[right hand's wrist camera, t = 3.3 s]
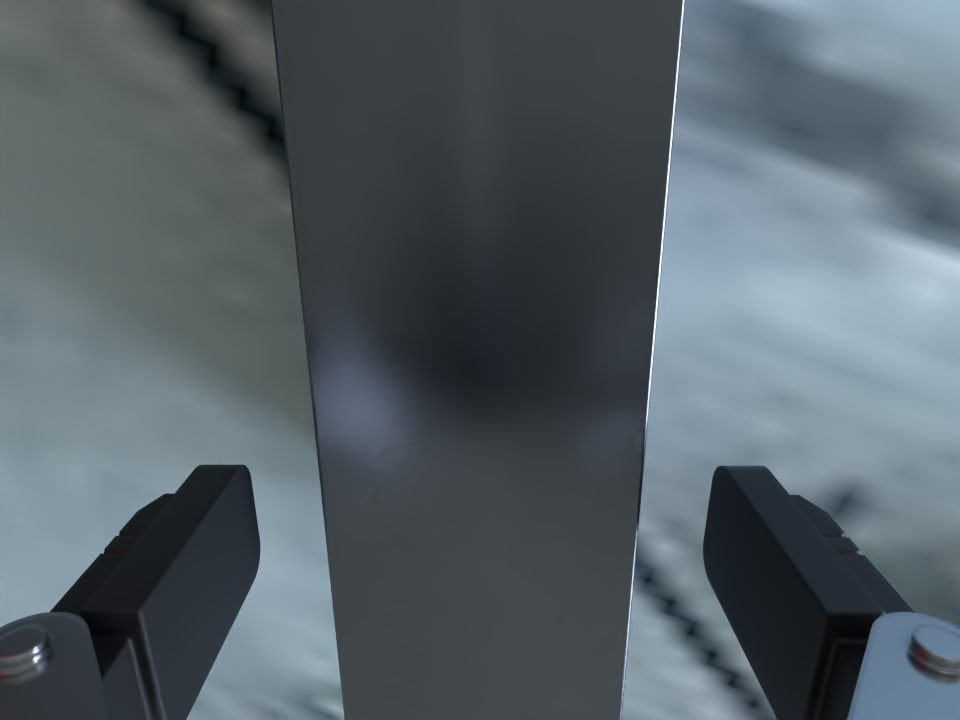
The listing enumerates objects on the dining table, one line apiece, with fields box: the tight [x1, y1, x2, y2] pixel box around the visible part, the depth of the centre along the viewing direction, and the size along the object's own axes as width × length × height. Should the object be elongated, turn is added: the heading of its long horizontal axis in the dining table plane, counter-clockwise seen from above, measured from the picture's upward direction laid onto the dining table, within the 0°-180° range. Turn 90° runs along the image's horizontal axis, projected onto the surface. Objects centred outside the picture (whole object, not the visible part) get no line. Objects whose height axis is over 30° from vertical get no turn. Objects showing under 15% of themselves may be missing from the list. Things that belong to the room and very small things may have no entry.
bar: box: [270, 0, 685, 720], centre depth 12 cm, size 25×5×9 cm, turn 0°
